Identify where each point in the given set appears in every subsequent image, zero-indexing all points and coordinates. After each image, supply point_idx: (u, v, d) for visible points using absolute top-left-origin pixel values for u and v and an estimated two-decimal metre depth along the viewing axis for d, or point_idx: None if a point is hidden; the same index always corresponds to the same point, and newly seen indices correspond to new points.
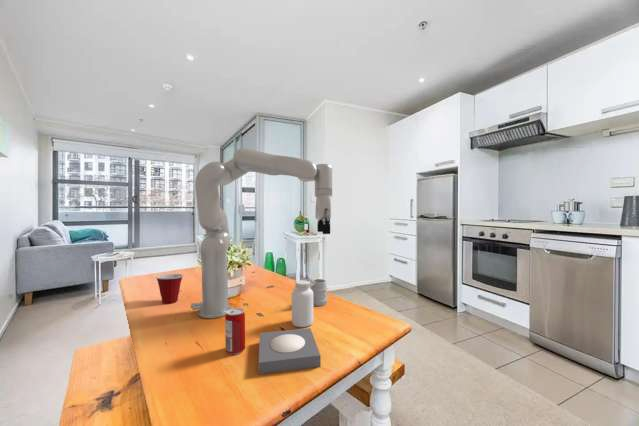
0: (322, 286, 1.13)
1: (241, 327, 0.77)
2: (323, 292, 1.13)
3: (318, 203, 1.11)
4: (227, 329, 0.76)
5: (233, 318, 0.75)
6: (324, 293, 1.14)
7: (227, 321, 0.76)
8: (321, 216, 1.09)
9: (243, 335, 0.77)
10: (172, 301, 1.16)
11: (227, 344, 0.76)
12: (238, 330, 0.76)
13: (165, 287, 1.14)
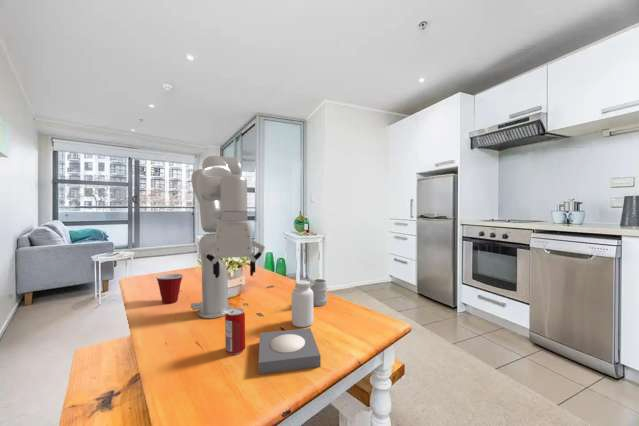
0: (322, 286, 1.13)
1: (241, 327, 0.77)
2: (323, 292, 1.13)
3: (241, 233, 0.75)
4: (227, 329, 0.76)
5: (233, 318, 0.75)
6: (324, 293, 1.14)
7: (227, 321, 0.76)
8: (251, 251, 0.76)
9: (243, 335, 0.77)
10: (172, 301, 1.16)
11: (227, 344, 0.76)
12: (238, 330, 0.76)
13: (165, 287, 1.14)
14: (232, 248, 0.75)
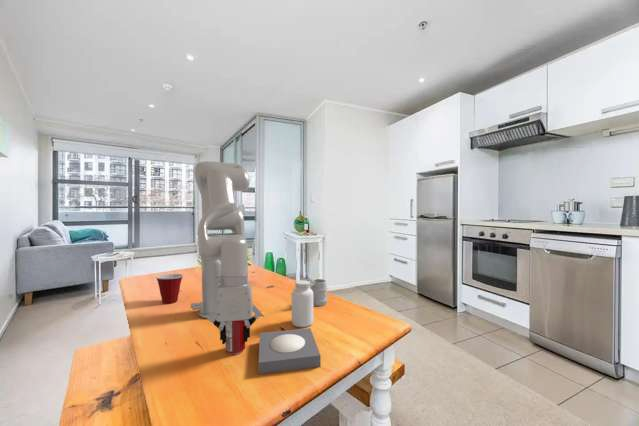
0: (322, 286, 1.13)
1: (241, 327, 0.77)
2: (323, 292, 1.13)
3: (241, 297, 0.76)
4: (227, 329, 0.76)
5: None
6: (324, 293, 1.14)
7: None
8: (251, 314, 0.77)
9: (243, 335, 0.77)
10: (172, 301, 1.16)
11: (227, 344, 0.76)
12: (238, 330, 0.76)
13: (165, 287, 1.14)
14: (233, 312, 0.75)
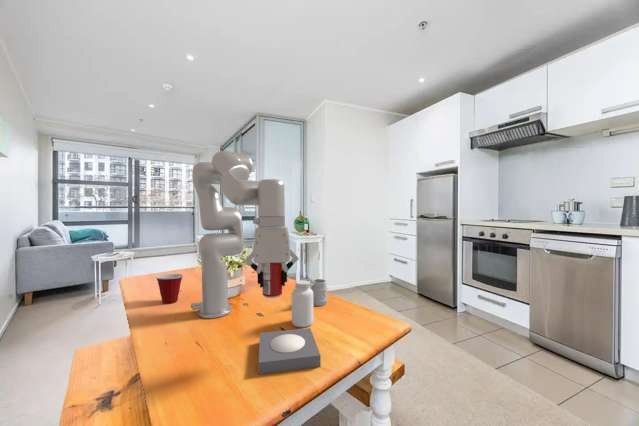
0: (322, 286, 1.13)
1: (279, 270, 0.75)
2: (323, 292, 1.13)
3: (279, 239, 0.74)
4: (265, 272, 0.74)
5: None
6: (324, 293, 1.14)
7: None
8: (289, 257, 0.75)
9: (280, 279, 0.75)
10: (172, 301, 1.16)
11: (264, 287, 0.74)
12: (276, 273, 0.74)
13: (165, 287, 1.14)
14: (271, 254, 0.73)
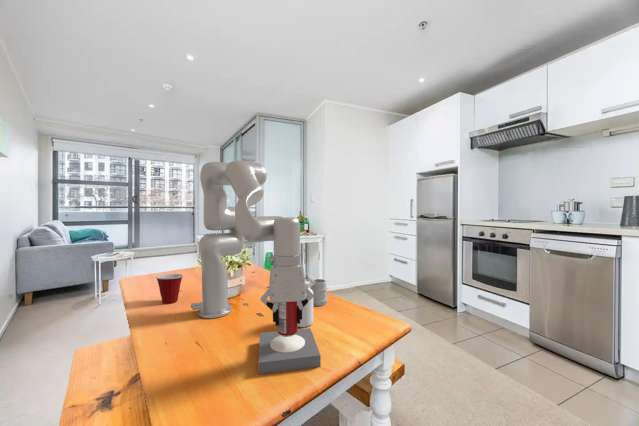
0: (322, 286, 1.13)
1: (295, 308, 0.74)
2: (323, 292, 1.13)
3: (295, 278, 0.74)
4: (281, 310, 0.74)
5: None
6: (324, 293, 1.14)
7: None
8: (305, 295, 0.75)
9: (296, 317, 0.75)
10: (172, 301, 1.16)
11: (280, 326, 0.74)
12: (292, 311, 0.74)
13: (165, 287, 1.14)
14: (287, 293, 0.73)
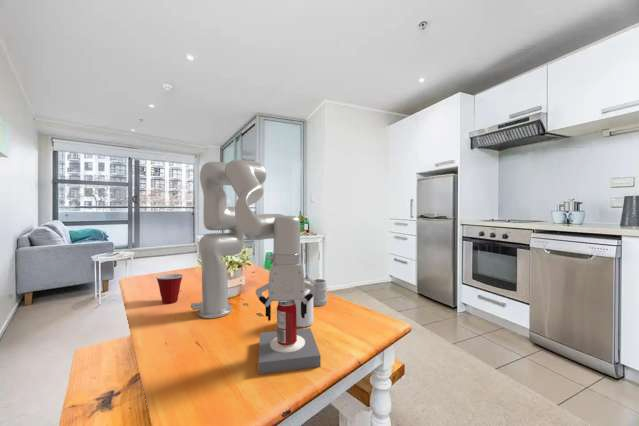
0: (322, 286, 1.13)
1: (294, 318, 0.75)
2: (323, 292, 1.13)
3: (295, 276, 0.74)
4: (280, 320, 0.74)
5: (286, 308, 0.74)
6: (324, 293, 1.14)
7: (280, 312, 0.74)
8: None
9: (295, 326, 0.75)
10: (172, 301, 1.16)
11: (280, 335, 0.74)
12: (291, 321, 0.74)
13: (165, 287, 1.14)
14: (286, 291, 0.73)
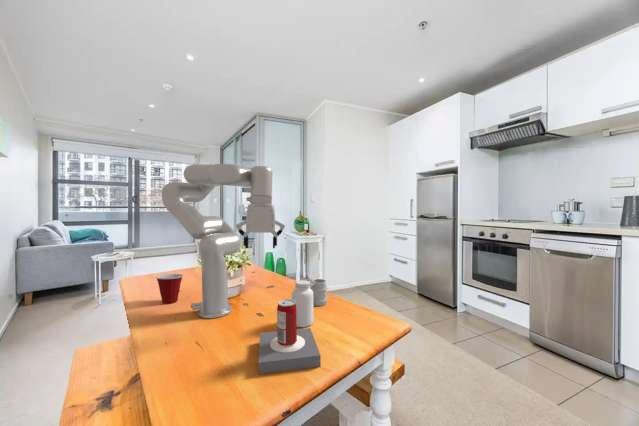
0: (322, 286, 1.13)
1: (294, 318, 0.75)
2: (323, 292, 1.13)
3: (267, 213, 0.93)
4: (280, 320, 0.74)
5: (286, 309, 0.73)
6: (324, 293, 1.14)
7: (280, 312, 0.74)
8: (274, 228, 0.95)
9: (296, 327, 0.75)
10: (172, 301, 1.16)
11: (280, 336, 0.74)
12: (292, 321, 0.74)
13: (165, 287, 1.14)
14: (259, 225, 0.93)
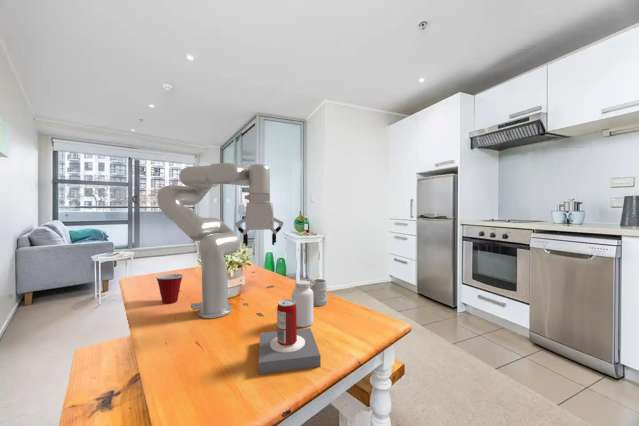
0: (322, 286, 1.13)
1: (294, 318, 0.75)
2: (323, 292, 1.13)
3: (265, 210, 0.95)
4: (280, 320, 0.74)
5: (286, 309, 0.73)
6: (324, 293, 1.14)
7: (280, 312, 0.74)
8: (273, 225, 0.96)
9: (296, 327, 0.75)
10: (172, 301, 1.16)
11: (280, 336, 0.74)
12: (292, 321, 0.74)
13: (165, 287, 1.14)
14: (258, 222, 0.94)
